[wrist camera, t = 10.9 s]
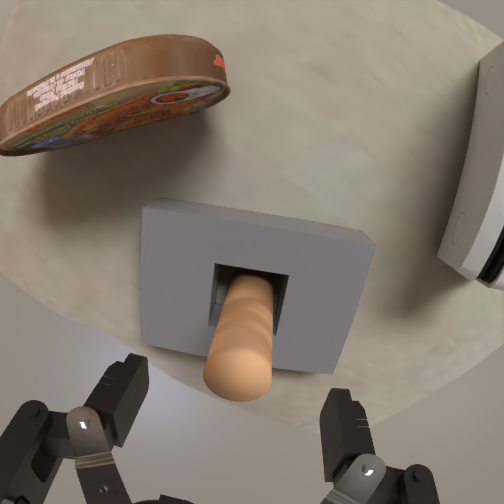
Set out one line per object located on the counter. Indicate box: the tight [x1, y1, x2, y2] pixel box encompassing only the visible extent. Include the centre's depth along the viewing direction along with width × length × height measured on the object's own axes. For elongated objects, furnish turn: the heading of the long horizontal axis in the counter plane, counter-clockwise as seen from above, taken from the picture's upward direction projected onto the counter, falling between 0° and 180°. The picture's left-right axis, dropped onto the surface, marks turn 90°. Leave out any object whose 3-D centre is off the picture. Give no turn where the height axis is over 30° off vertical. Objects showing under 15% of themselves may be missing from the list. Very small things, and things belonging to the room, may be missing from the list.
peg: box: [203, 267, 273, 402], centre depth 18 cm, size 3×3×10 cm
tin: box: [0, 34, 230, 156], centre depth 15 cm, size 15×3×8 cm, turn 98°
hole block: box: [141, 198, 375, 374], centre depth 21 cm, size 14×10×3 cm
